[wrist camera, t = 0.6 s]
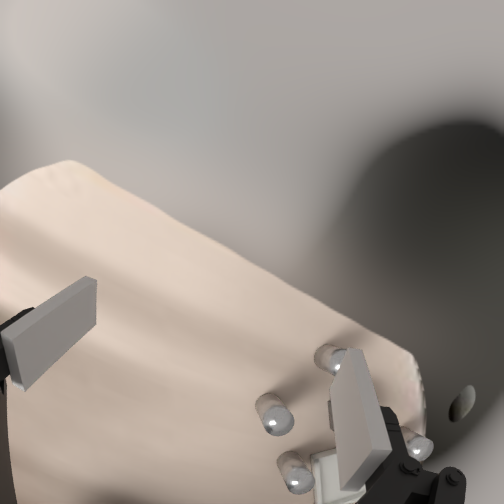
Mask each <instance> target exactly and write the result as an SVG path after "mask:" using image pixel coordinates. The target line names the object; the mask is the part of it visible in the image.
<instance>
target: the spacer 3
mask: <svg viewBox="0 0 504 504" xmlns="http://www.w3.org/2000/svg"><path fill="white" fill-rule="evenodd" d="M346 351H347V350H346V349H342V348H339V347H335V346H332V345H322V346H320V347H319V348H318V349H317V350H316V352H315V355H314V362H315V364H316V365H317V366H318V367H319V368H321V369H322V370H324V371H326V372H328V373H330V374H332V375H334V376H336V373H337V371H338V369H339V367H340V364H341V362H342V360H343V358H344V355H345V353H346Z"/></svg>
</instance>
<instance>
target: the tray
mask: <svg viewBox="0 0 504 504" xmlns="http://www.w3.org/2000/svg"><path fill="white" fill-rule="evenodd" d="M310 456H311V467H312V475H313V477H314V478H315V485H314V487H313V488H314V499H315V504H351V503H354V502H356V501H358V500H359V499H360V498H361V497H362V496H363V495H364V494H365V493H366V487H365V484H364V486H363V487H362V488H361V489H360V490H359V491H358V492H352V491H340V483H339V472H338V461H337V451H336V448H334V449H330V450H327V451H323V452H319V453H315V454H312V455H310Z"/></svg>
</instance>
